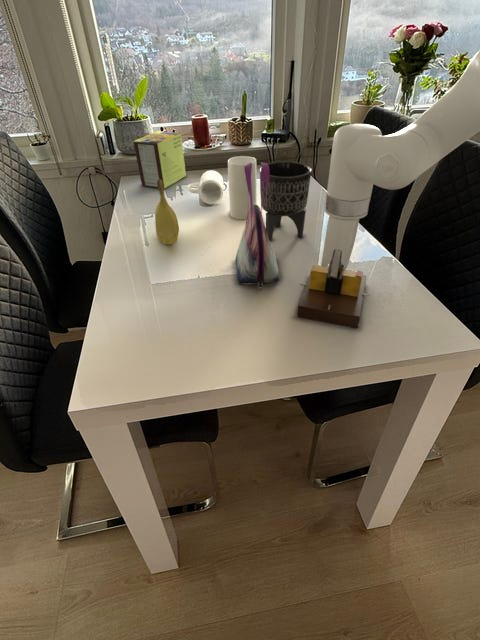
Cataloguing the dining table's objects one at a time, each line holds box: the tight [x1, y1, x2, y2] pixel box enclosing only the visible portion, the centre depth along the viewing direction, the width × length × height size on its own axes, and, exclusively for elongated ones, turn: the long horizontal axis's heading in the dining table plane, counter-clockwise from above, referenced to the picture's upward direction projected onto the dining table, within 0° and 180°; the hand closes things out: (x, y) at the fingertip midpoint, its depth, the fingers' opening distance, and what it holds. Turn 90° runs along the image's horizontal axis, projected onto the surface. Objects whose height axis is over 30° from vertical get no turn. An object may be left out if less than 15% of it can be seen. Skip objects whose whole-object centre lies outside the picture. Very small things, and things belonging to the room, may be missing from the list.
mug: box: [186, 169, 224, 206], centre depth 124 cm, size 12×10×8 cm
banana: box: [154, 179, 180, 245], centre depth 97 cm, size 23×6×20 cm, turn 15°
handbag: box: [235, 161, 281, 291], centre depth 82 cm, size 21×10×25 cm, turn 3°
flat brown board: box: [296, 271, 370, 329], centre depth 79 cm, size 15×14×3 cm
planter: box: [259, 160, 312, 241], centre depth 99 cm, size 13×13×18 cm
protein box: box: [132, 130, 187, 189], centre depth 137 cm, size 10×15×16 cm
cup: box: [227, 155, 258, 220], centre depth 111 cm, size 8×8×16 cm
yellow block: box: [309, 264, 364, 297], centre depth 76 cm, size 10×2×5 cm, turn 71°
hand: (333, 288), depth 78 cm, fingers closed on yellow block, 2 cm apart
